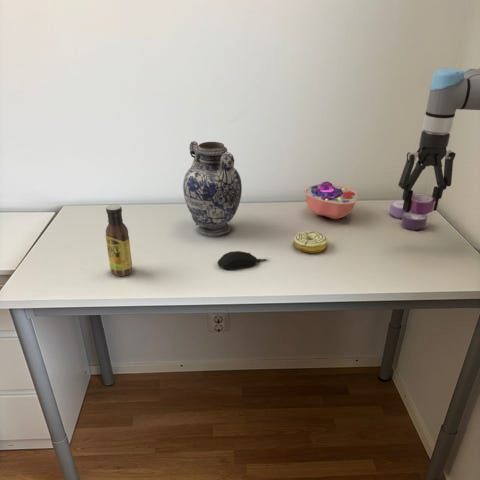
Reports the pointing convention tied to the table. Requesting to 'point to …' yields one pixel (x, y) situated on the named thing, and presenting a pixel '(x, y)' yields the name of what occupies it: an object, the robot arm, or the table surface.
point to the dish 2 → (422, 203)
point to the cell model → (330, 200)
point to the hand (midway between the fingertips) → (419, 209)
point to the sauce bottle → (118, 242)
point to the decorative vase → (212, 188)
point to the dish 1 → (397, 208)
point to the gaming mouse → (237, 260)
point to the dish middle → (414, 221)
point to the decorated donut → (310, 242)
